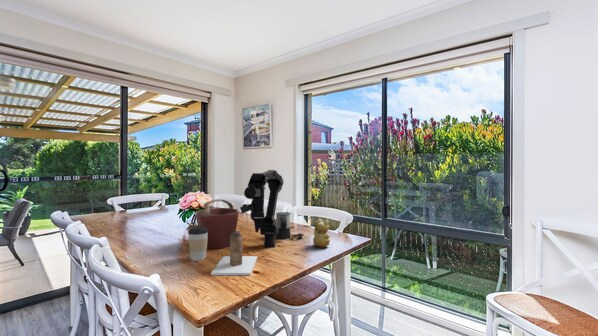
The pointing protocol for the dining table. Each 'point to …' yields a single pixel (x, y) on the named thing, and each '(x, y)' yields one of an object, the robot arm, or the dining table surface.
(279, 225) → the milk frother
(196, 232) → the coffee cup
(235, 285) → the dining table surface
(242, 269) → the ceramic tile
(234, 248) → the pepper mill
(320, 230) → the decorative figurine
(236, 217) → the bucket
